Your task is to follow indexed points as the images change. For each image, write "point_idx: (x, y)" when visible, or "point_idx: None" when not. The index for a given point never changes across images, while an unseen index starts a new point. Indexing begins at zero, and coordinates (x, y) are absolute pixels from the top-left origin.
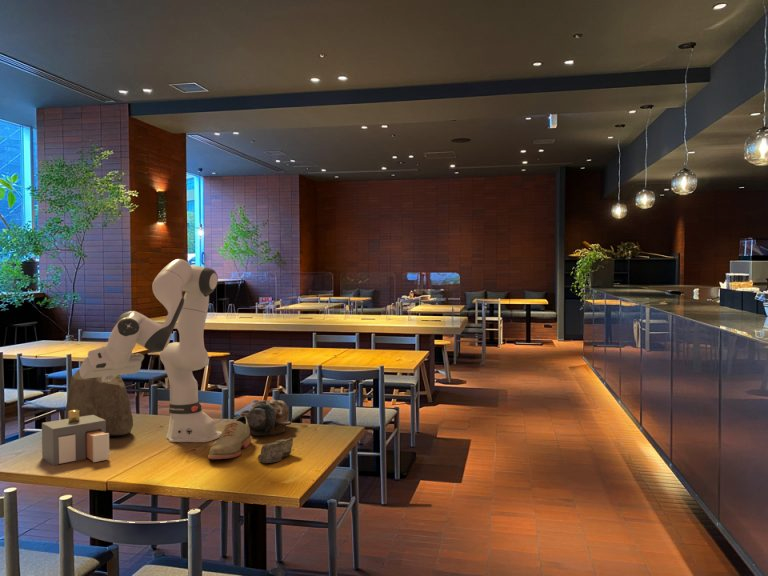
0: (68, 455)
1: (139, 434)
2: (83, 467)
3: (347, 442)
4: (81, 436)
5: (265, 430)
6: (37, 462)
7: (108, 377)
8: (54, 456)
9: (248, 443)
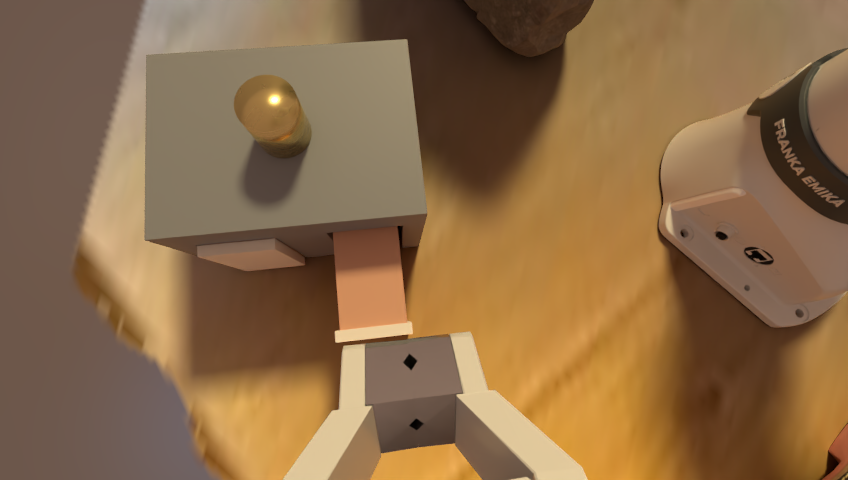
0: (271, 264)
1: (587, 48)
2: (308, 363)
3: None
4: (311, 238)
5: None
6: None
7: (435, 423)
8: None
9: None
